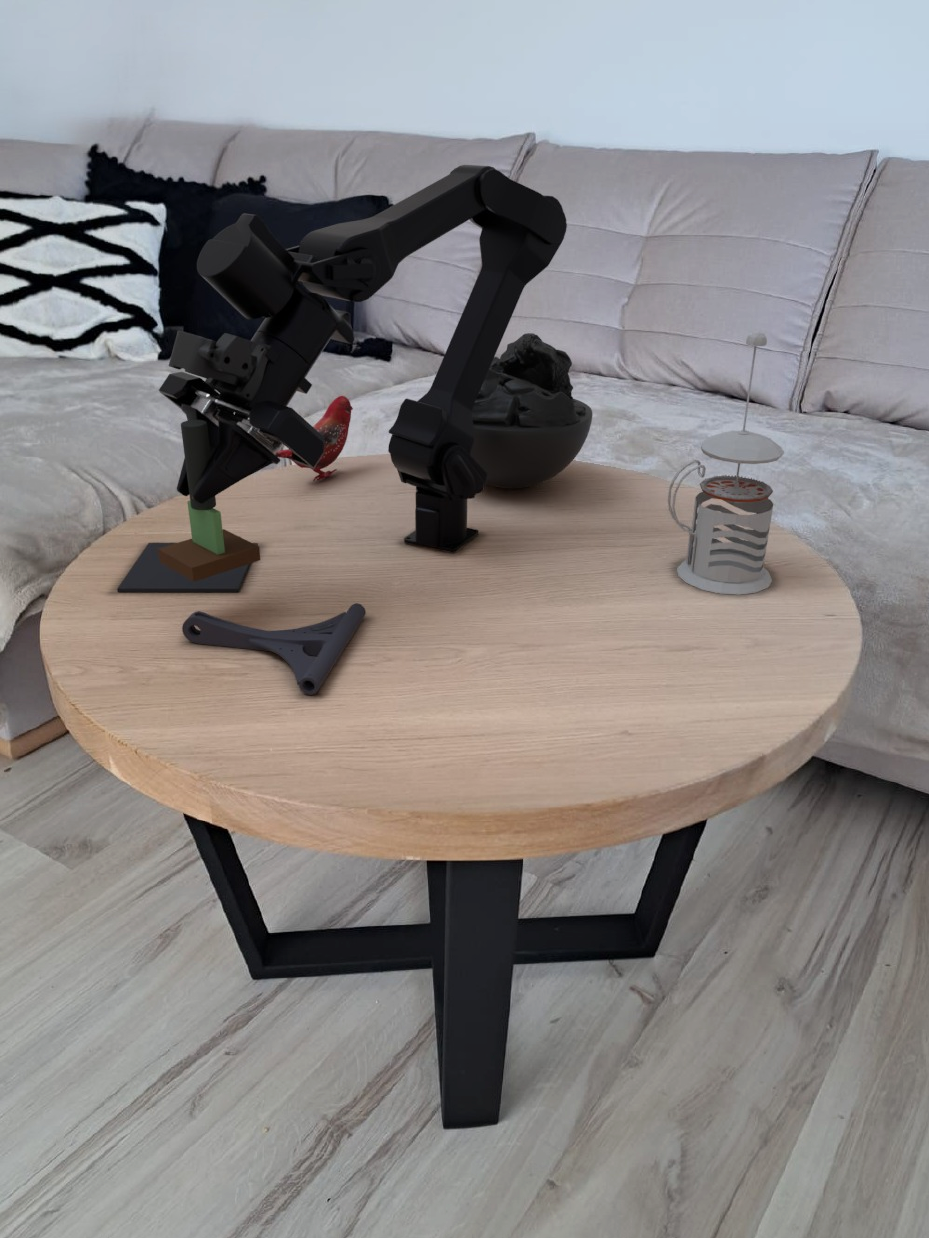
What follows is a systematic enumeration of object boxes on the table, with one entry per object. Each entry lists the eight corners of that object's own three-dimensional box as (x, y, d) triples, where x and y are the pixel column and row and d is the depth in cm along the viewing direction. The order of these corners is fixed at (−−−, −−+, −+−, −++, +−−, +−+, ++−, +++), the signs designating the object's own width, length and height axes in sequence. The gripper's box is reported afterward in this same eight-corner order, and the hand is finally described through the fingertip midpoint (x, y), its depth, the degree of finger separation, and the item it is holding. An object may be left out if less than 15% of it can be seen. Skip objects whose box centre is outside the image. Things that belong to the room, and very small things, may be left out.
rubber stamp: (225, 542, 96) (210, 408, 90) (260, 560, 92) (247, 422, 86) (159, 562, 91) (139, 423, 85) (193, 582, 87) (175, 438, 82)
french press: (786, 593, 101) (830, 341, 89) (674, 596, 100) (704, 343, 88) (753, 555, 109) (788, 321, 98) (649, 557, 108) (673, 322, 97)
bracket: (218, 605, 97) (215, 579, 96) (366, 619, 94) (365, 592, 93) (150, 679, 84) (146, 650, 83) (319, 697, 82) (316, 668, 81)
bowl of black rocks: (606, 473, 134) (617, 330, 126) (557, 521, 118) (566, 361, 110) (471, 453, 142) (473, 317, 133) (407, 496, 125) (404, 344, 117)
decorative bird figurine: (363, 466, 136) (361, 393, 131) (280, 504, 122) (274, 424, 118) (346, 462, 137) (343, 390, 133) (261, 500, 123) (255, 421, 119)
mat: (149, 546, 110) (148, 542, 110) (258, 546, 110) (257, 542, 110) (117, 592, 99) (116, 588, 99) (238, 592, 100) (237, 588, 99)
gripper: (165, 281, 89) (68, 424, 88) (285, 308, 78) (176, 474, 76) (247, 356, 98) (161, 489, 96) (368, 391, 86) (271, 543, 84)
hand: (188, 497), depth 88 cm, fingers closed on rubber stamp, 2 cm apart
